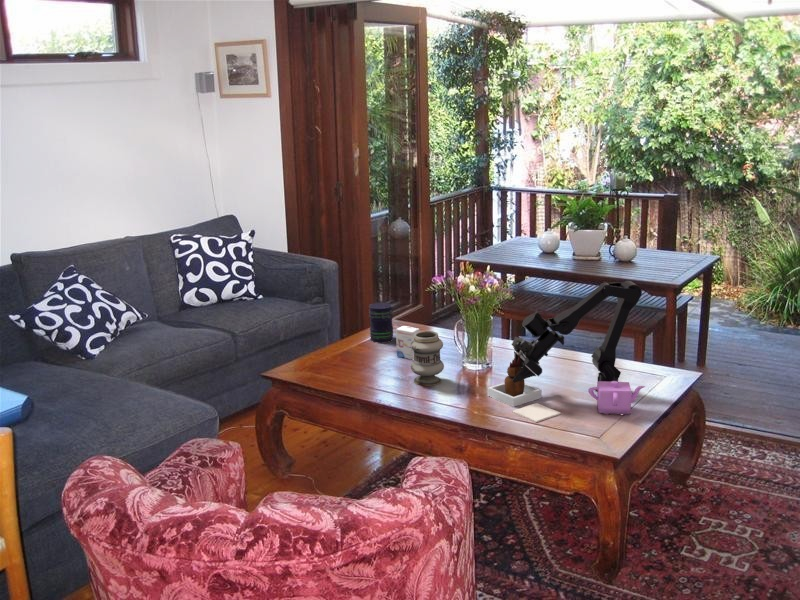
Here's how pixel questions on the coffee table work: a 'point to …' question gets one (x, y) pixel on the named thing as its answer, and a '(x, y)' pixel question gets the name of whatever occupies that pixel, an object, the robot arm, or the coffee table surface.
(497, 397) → the white square tray
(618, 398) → the teapot
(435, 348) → the apothecary jar
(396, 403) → the coffee table surface
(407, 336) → the ink box
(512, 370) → the wooden figurine
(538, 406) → the tile
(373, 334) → the storage jar
